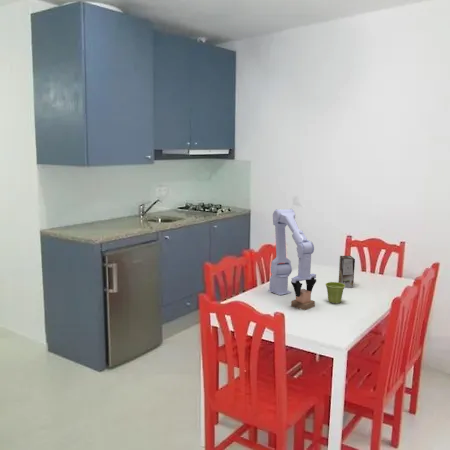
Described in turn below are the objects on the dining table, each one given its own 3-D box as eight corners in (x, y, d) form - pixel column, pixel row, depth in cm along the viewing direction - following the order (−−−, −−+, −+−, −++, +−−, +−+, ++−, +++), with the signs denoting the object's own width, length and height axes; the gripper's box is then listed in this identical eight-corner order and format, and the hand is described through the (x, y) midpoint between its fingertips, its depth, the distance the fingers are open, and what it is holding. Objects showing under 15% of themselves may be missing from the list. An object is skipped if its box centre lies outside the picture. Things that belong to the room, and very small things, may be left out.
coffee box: (353, 288, 250) (355, 259, 247) (341, 287, 250) (343, 258, 248) (349, 283, 259) (351, 255, 256) (338, 283, 259) (339, 255, 257)
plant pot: (330, 305, 221) (331, 288, 220) (321, 299, 230) (322, 282, 229) (347, 303, 224) (348, 286, 222) (338, 297, 233) (339, 281, 231)
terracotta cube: (295, 300, 220) (295, 290, 219) (303, 298, 222) (303, 288, 222) (302, 303, 216) (303, 293, 215) (310, 301, 218) (310, 291, 218)
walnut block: (291, 307, 219) (291, 301, 219) (300, 303, 225) (300, 297, 225) (305, 311, 214) (305, 305, 213) (314, 307, 220) (314, 301, 219)
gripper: (299, 271, 209) (298, 299, 211) (321, 266, 217) (320, 294, 220) (288, 267, 215) (287, 295, 217) (310, 263, 223) (309, 290, 225)
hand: (303, 294), depth 219 cm, fingers open, 7 cm apart
